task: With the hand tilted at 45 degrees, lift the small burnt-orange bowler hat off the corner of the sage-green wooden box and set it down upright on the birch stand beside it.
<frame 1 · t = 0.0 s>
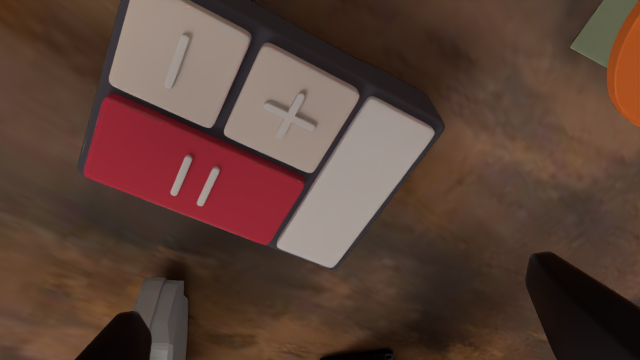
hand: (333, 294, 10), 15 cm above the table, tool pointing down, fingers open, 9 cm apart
calculator: (262, 118, 23), on the table
handheld gaming console: (171, 321, 33), on the table
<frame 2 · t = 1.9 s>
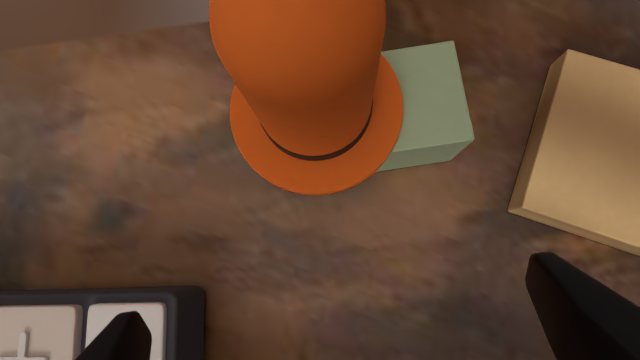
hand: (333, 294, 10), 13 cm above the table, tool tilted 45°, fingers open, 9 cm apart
hat: (316, 111, 20), point 5 cm above the table, touching sage box
stand: (610, 162, 23), on the table
sage box: (364, 130, 24), on the table
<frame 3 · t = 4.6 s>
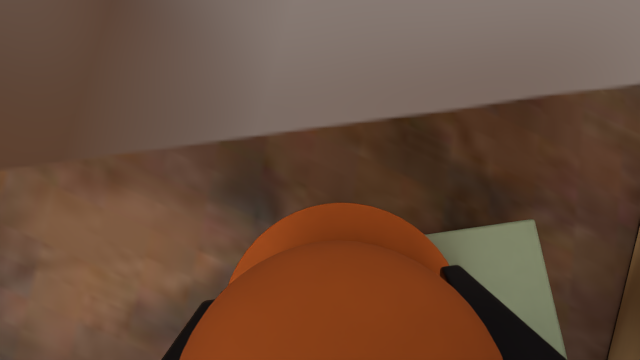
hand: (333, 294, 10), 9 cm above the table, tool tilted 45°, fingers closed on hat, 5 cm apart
hat: (342, 323, 14), point 5 cm above the table, touching gripper, sage box
sage box: (399, 298, 18), on the table
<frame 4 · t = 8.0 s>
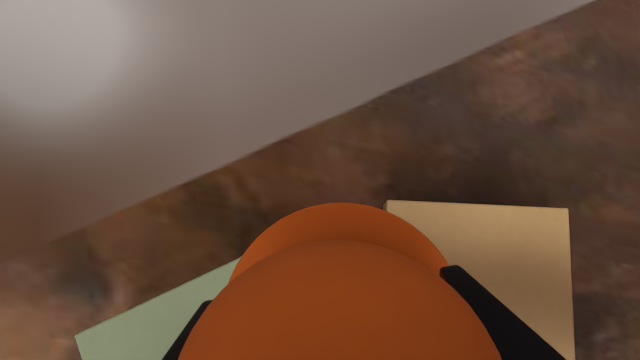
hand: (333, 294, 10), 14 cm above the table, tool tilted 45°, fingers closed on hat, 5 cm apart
hat: (341, 322, 14), point 9 cm above the table, touching gripper
stand: (465, 291, 22), on the table
sage box: (216, 327, 23), on the table
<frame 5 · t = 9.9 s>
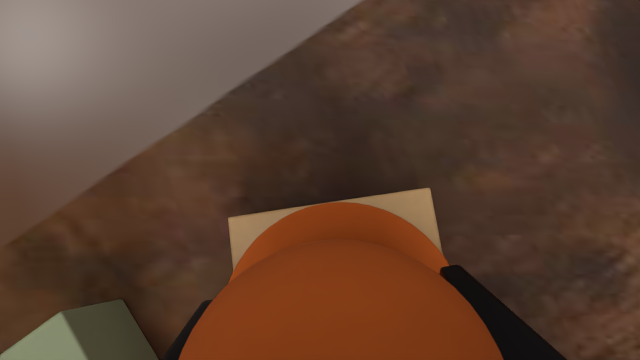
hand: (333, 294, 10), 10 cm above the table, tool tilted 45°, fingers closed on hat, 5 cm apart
hat: (342, 322, 14), point 6 cm above the table, touching gripper
stand: (343, 302, 20), on the table
when the fingers open (7 cm above the table, at t = 11.4 s): hat stays where it is, resting on stand.
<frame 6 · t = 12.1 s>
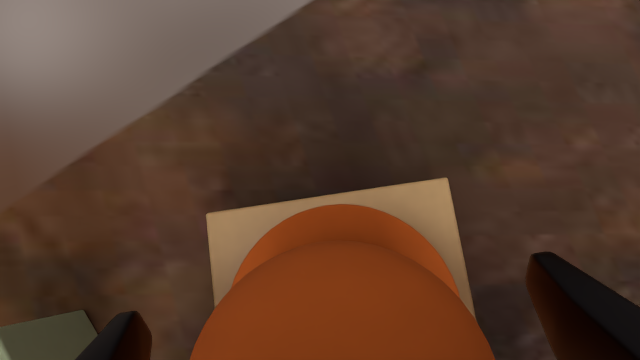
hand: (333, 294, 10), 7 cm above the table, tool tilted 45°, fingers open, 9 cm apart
hat: (342, 320, 15), point 2 cm above the table, touching stand
stand: (344, 314, 16), on the table
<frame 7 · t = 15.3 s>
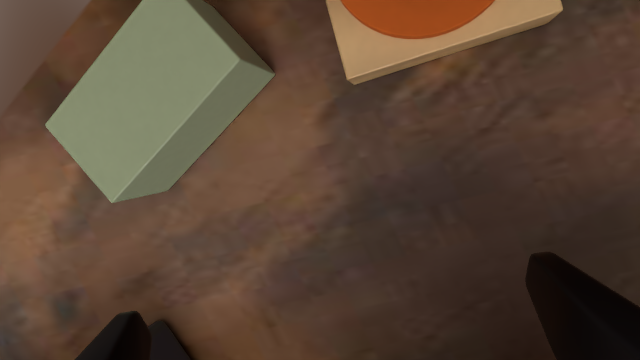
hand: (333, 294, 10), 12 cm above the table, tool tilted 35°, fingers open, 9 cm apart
sage box: (189, 102, 23), on the table
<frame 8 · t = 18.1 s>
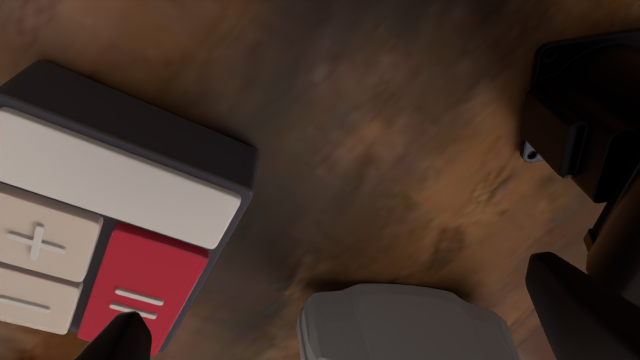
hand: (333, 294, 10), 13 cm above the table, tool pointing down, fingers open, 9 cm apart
calculator: (121, 211, 24), on the table
handheld gaming console: (398, 294, 30), on the table
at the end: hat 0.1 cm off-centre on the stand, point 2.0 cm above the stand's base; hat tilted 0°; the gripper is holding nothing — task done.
